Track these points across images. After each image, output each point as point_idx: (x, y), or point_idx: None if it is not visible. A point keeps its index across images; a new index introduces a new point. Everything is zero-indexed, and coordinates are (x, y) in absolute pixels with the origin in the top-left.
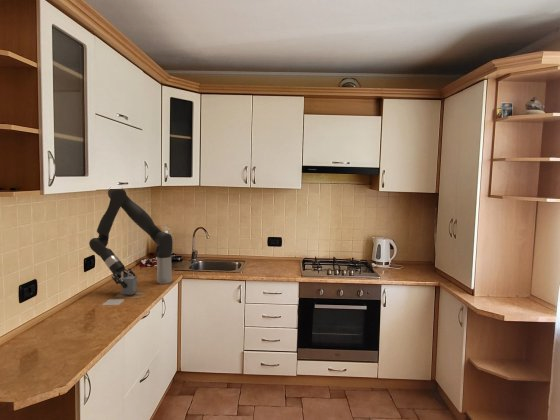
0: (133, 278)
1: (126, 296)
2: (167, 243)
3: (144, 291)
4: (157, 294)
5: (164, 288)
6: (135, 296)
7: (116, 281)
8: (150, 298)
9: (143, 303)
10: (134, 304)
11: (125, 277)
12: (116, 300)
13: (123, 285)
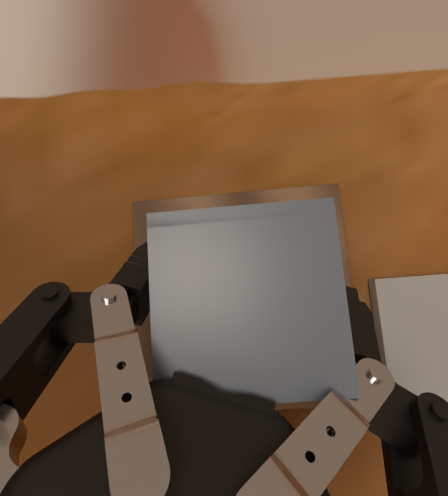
0: (292, 206)
1: None
2: None
3: (147, 205)
4: (171, 101)
5: (19, 106)
6: None
7: (409, 468)
8: (270, 115)
9: (389, 119)
10: (422, 175)
11: (255, 376)
12: (414, 341)
13: (369, 329)
